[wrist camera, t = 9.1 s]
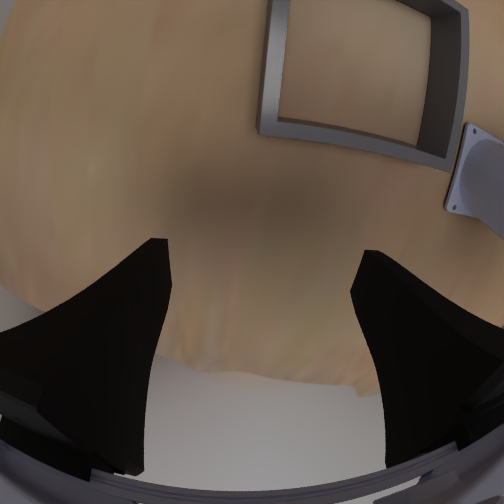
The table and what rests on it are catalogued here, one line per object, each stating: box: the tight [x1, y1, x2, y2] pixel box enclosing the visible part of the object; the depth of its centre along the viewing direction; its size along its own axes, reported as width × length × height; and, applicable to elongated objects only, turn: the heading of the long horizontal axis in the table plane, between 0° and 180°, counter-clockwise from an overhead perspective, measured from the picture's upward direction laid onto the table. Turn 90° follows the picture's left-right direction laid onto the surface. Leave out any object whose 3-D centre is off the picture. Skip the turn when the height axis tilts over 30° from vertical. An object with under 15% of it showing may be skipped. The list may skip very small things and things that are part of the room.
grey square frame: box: [256, 0, 469, 173], centre depth 11 cm, size 13×13×4 cm
